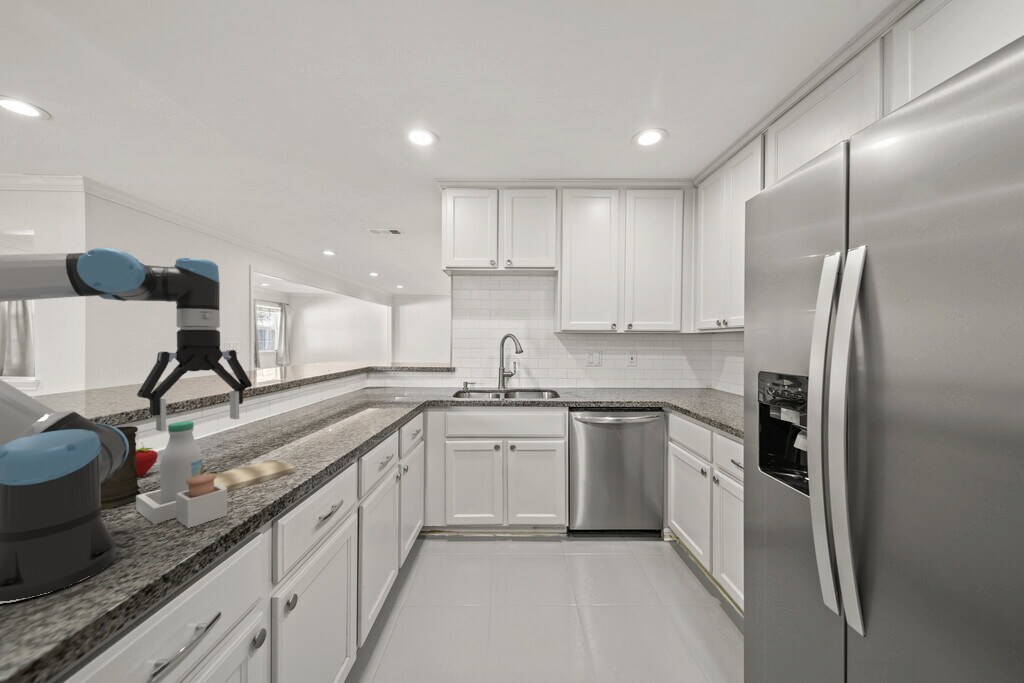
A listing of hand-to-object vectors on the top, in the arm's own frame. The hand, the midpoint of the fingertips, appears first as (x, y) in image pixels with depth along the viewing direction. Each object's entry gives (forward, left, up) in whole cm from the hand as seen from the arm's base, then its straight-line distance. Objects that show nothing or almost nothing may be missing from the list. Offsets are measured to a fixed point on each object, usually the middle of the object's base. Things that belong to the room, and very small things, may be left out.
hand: (200, 424), depth 86 cm
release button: (0, -1, -17) cm, 17 cm away
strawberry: (+1, +49, -21) cm, 54 cm away
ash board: (+18, +19, -21) cm, 33 cm away
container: (-8, +29, -21) cm, 37 cm away
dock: (0, +7, -21) cm, 22 cm away
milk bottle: (0, +11, -21) cm, 24 cm away
